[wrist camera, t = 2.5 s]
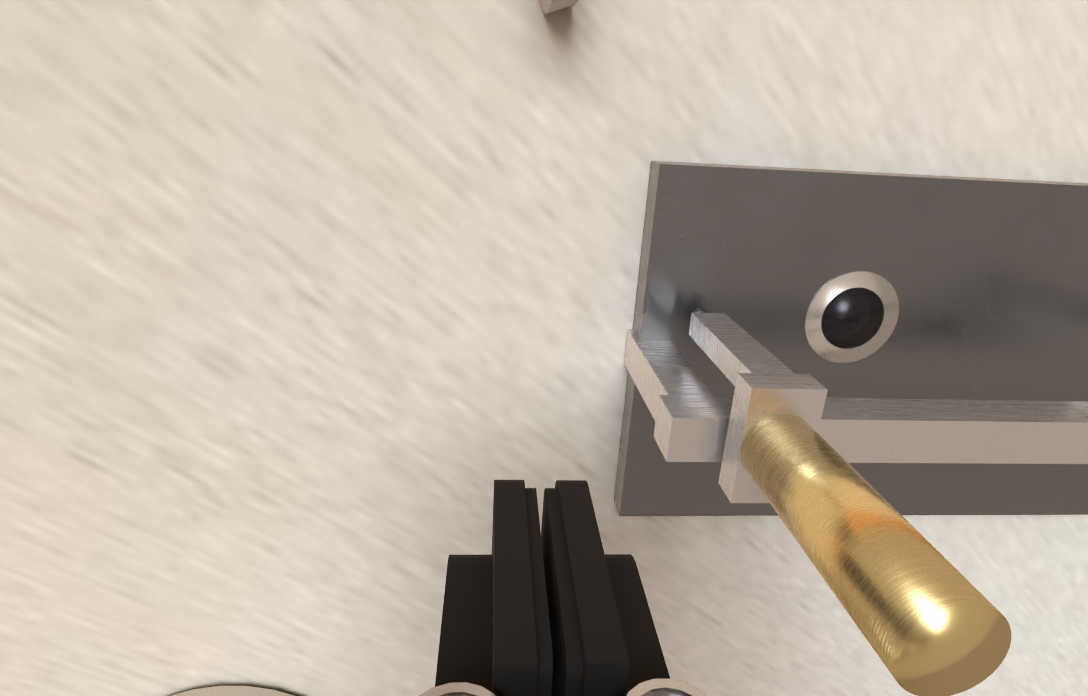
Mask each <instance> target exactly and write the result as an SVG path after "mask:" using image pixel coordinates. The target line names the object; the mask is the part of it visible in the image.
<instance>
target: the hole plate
mask: <svg viewBox="0 0 1088 696" xmlns="http://www.w3.org/2000/svg"><path fill="white" fill-rule="evenodd" d="M696 308H705V309H706V310H707V311H708V312H710V313H725V314H726V315H728V316H729V317H730V318H731V319H732V320H733V321H734V322H736V323H737V324H738V325H739V326H740V327H741V328H743V329H744V330H745V331H746V332H747V333H748V334H750V335H751V336H752V337H753V338H754V339H755V340H756V341H758V342H759V343H760V344H761V345H762V346H763V347H765V348H766V349H767V350H768V351H769V352H770V353H771V354H773V355H774V356H775V357H776V358H777V359H778V360H780V361H781V362H782V363H783V364H784V365H785V366H786V367H788V368H789V369H790V370H791V371H792V372H793V373H795V374H810V375H811V376H812V377H813V378H814V379H816V380H817V381H818V382H819V383H820V384H822V385H823V386H824V387H825V388H826V389H828V391H827V395H826V397H831V398H895V399H959V400H1022V401H1086V402H1088V184H1085V183H1065V182H1046V181H1027V180H1008V179H988V178H969V177H950V176H930V175H911V174H892V173H872V172H853V171H834V170H814V169H795V168H776V167H756V166H737V165H718V164H698V163H679V162H660V161H651V167H650V176H649V186H648V195H647V204H646V213H645V222H644V231H643V240H642V249H641V259H640V268H639V277H638V286H637V295H636V304H635V313H634V323H633V331H634V333H635V334H636V336H637V337H638V339H639V340H645V341H672V343H673V344H674V345H675V347H676V348H677V349H678V350H679V352H680V353H681V354H682V355H683V357H684V358H685V359H686V361H687V362H688V363H689V364H690V366H691V367H692V368H693V369H694V371H695V372H696V373H697V375H698V376H699V377H700V378H701V380H702V381H703V382H704V383H705V385H706V386H707V387H708V389H709V390H710V391H711V392H712V394H713V395H714V396H734V391H735V386H734V385H733V384H732V383H731V382H730V381H729V379H728V378H727V377H726V376H725V375H724V374H723V373H722V371H721V370H720V369H719V368H718V367H717V366H716V365H715V364H714V362H713V361H712V360H711V359H710V358H709V357H708V356H707V355H706V353H705V352H704V351H703V350H702V349H701V348H700V347H699V346H698V344H697V343H696V342H695V341H694V340H693V339H692V338H691V336H690V335H689V327H690V315H691V313H692V312H693V310H695V309H696ZM654 429H655V420H654V418H653V417H652V415H651V413H650V411H649V409H648V407H647V405H646V403H645V402H644V400H643V398H642V396H641V394H640V392H639V390H638V388H637V387H636V385H635V383H634V381H633V379H632V377H631V375H630V373H629V372H628V377H627V387H626V396H625V405H624V414H623V423H622V432H621V441H620V451H619V460H618V469H617V478H616V487H615V496H614V500H615V503H616V506H617V509H618V513H619V516H738V515H778V514H777V512H776V511H775V510H774V508H773V507H772V505H771V504H770V503H730V501H729V499H728V498H727V496H726V494H725V493H724V491H723V490H722V488H721V486H720V485H719V483H718V482H719V476H720V471H721V465H722V462H666V460H665V458H664V456H663V454H662V452H661V450H660V448H659V446H658V444H657V442H656V440H655V438H654ZM849 464H850V465H851V466H852V467H853V468H854V469H855V470H856V471H857V472H858V473H859V474H860V475H861V476H862V477H863V478H864V479H865V480H866V481H867V482H868V483H869V484H870V485H871V486H872V487H873V488H874V489H875V490H876V491H877V492H878V493H879V494H880V495H881V496H882V497H883V498H884V499H885V500H886V501H887V502H888V503H889V504H890V505H891V506H893V507H894V508H895V509H896V510H897V511H898V512H899V513H900V514H901V515H1071V514H1088V464H984V463H849Z"/></svg>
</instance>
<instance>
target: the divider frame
mask: <svg viewBox="0 0 1088 696" xmlns="http://www.w3.org/2000/svg"><path fill="white" fill-rule="evenodd" d="M624 364H625V366H626V368H627V370H628V372H629V373H630V375H631V377H632V379H633V381H634V383H635V385H636V387H637V388H638V390H639V392H640V394H641V396H642V398H643V400H644V402H645V403H646V405H647V407H648V409H649V411H650V413H651V415H652V417H653V418H654V420H655V429H654V438H655V440H656V442H657V444H658V446H659V448H660V450H661V452H662V454H663V456H664V458H665V460H666V462H722V459H723V453H724V448H725V442H726V436H727V431H728V425H729V419H730V413H731V408H732V402H733V396H714V395H713V394H712V392H711V391H710V390H709V389H708V387H707V386H706V385H705V383H704V382H703V381H702V380H701V378H700V377H699V376H698V375H697V373H696V372H695V371H694V369H693V368H692V367H691V366H690V364H689V363H688V362H687V361H686V359H685V358H684V357H683V355H682V354H681V353H680V352H679V350H678V349H677V348H676V347H675V345H674V344H673V343H672V341H645V340H639V339H638V337H637V336H636V334H635V333H634V331H633V330H628V331H627V340H626V350H625V359H624ZM818 434H819V435H820V436H821V437H822V438H824V439H825V440H826V441H827V442H828V443H829V444H830V445H831V446H832V447H833V448H834V449H835V450H836V451H837V452H838V453H839V454H840V455H841V456H842V457H843V458H844V459H845V460H846V461H847V462H848V463H984V464H1088V402H1086V401H1022V400H959V399H895V398H831V397H826V400H825V404H824V408H823V413H822V417H821V421H820V426H819V430H818Z"/></svg>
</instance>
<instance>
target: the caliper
mask: <svg viewBox="0 0 1088 696" xmlns="http://www.w3.org/2000/svg"><path fill="white" fill-rule="evenodd" d="M539 1H540V5H541V8H542V11H543V13H544V15H545V14H548V13H551V12H555V11H558V10H561V9H564V8H567V7H570V6H573V5H575V4H576V3H577V2H578V0H539Z"/></svg>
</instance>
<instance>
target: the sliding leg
mask: <svg viewBox="0 0 1088 696" xmlns="http://www.w3.org/2000/svg"><path fill="white" fill-rule="evenodd" d="M689 335H690V336H691V338H692V339H693V340H694V341H695V342H696V343H697V344H698V346H699V347H700V348H701V349H702V350H703V351H704V352H705V353H706V355H707V356H708V357H709V358H710V359H711V360H712V361H713V362H714V364H715V365H716V366H717V367H718V368H719V369H720V370H721V371H722V373H723V374H724V375H725V376H726V377H727V378H728V379H729V381H730V382H731V383H732V384H733V385H734V386H735V391H734V396H733V402H732V408H731V413H730V419H729V425H728V431H727V436H726V442H725V448H724V453H723V459H722V465H721V471H720V476H719V482H718V483H719V485H720V486H721V488H722V490H723V491H724V493H725V494H726V496H727V498H728V499H729V501H730V503H770V504H771V505H772V507H773V508H774V510H775V511H776V512H777V514H778V515H779V517H780V518H781V519H782V521H783V522H784V524H785V525H786V527H787V528H788V529H789V531H790V532H791V534H792V535H793V536H794V538H795V539H796V541H797V542H798V543H799V545H800V546H801V548H802V549H803V550H804V552H805V553H806V555H807V556H808V557H809V559H810V560H811V562H812V563H813V564H814V566H815V567H816V569H817V570H818V571H819V573H820V574H821V576H822V577H823V578H824V580H825V581H826V583H827V584H828V585H829V587H830V588H831V590H832V591H833V592H834V594H835V595H836V597H837V598H838V599H839V601H840V602H841V604H842V605H843V606H844V608H845V609H846V611H847V612H848V613H849V615H850V616H851V618H852V619H853V620H854V622H855V623H856V625H857V626H858V627H859V629H860V630H861V632H862V633H863V635H864V636H865V637H866V639H867V640H868V642H869V643H870V644H871V646H872V647H873V649H874V650H875V651H876V653H877V654H878V656H879V657H880V658H881V660H882V661H883V663H884V664H885V665H886V667H887V668H888V670H889V671H890V672H891V674H892V675H893V677H894V678H895V679H896V681H897V682H898V683H899V685H900V686H901V687H902V688H904V689H905V690H906V691H908V692H910V693H912V694H914V695H918V696H950V695H954V694H958V693H960V692H963V691H966V690H968V689H970V688H972V687H974V686H975V685H977V684H979V683H980V682H982V681H983V680H985V679H986V678H987V677H988V676H990V675H991V674H992V673H993V672H994V671H995V670H996V669H997V668H998V666H999V665H1000V664H1001V663H1002V661H1003V660H1004V658H1005V656H1006V654H1007V652H1008V650H1009V647H1010V642H1011V630H1010V626H1009V623H1008V621H1007V620H1006V618H1005V617H1004V616H1003V615H1002V614H1001V613H1000V612H999V611H998V610H997V609H996V608H995V607H994V606H993V605H992V604H991V603H990V602H989V601H988V600H987V599H986V598H985V597H984V596H983V595H982V594H981V593H980V592H979V591H978V590H977V589H976V588H975V587H974V586H973V585H972V584H971V583H970V582H969V581H968V580H967V579H966V578H965V577H964V576H963V575H962V574H961V573H959V572H958V571H957V570H956V569H955V568H954V567H953V566H952V565H951V564H950V563H949V562H948V561H947V560H946V559H945V558H944V557H943V556H942V555H941V554H940V553H939V552H938V551H937V550H936V549H935V548H934V547H933V546H932V545H931V544H930V543H929V542H928V541H927V540H926V539H925V538H924V537H923V536H922V535H921V534H920V533H919V532H918V531H917V530H916V529H915V528H914V527H913V526H912V525H911V524H910V523H909V522H908V521H907V520H906V519H905V518H904V517H903V516H902V515H901V514H900V513H899V512H898V511H897V510H896V509H895V508H894V507H893V506H891V505H890V504H889V503H888V502H887V501H886V500H885V499H884V498H883V497H882V496H881V495H880V494H879V493H878V492H877V491H876V490H875V489H874V488H873V487H872V486H871V485H870V484H869V483H868V482H867V481H866V480H865V479H864V478H863V477H862V476H861V475H860V474H859V473H858V472H857V471H856V470H855V469H854V468H853V467H852V466H851V465H850V464H849V463H848V462H847V461H846V460H845V459H844V458H843V457H842V456H841V455H840V454H839V453H838V452H837V451H836V450H835V449H834V448H833V447H832V446H831V445H830V444H829V443H828V442H827V441H826V440H825V439H824V438H822V437H821V436H820V435H819V434H818V430H819V426H820V421H821V417H822V413H823V408H824V404H825V400H826V395H827V391H828V389H826V388H825V387H824V386H823V385H822V384H820V383H819V382H818V381H817V380H816V379H814V378H813V377H812V376H811V375H810V374H795V373H793V372H792V371H791V370H790V369H789V368H788V367H786V366H785V365H784V364H783V363H782V362H781V361H780V360H778V359H777V358H776V357H775V356H774V355H773V354H771V353H770V352H769V351H768V350H767V349H766V348H765V347H763V346H762V345H761V344H760V343H759V342H758V341H756V340H755V339H754V338H753V337H752V336H751V335H750V334H748V333H747V332H746V331H745V330H744V329H743V328H741V327H740V326H739V325H738V324H737V323H736V322H734V321H733V320H732V319H731V318H730V317H729V316H728V315H726V314H725V313H710V312H708V311H707V310H706V309H705V308H696V309H695V310H693V312H692V313H691V315H690V327H689Z"/></svg>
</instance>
